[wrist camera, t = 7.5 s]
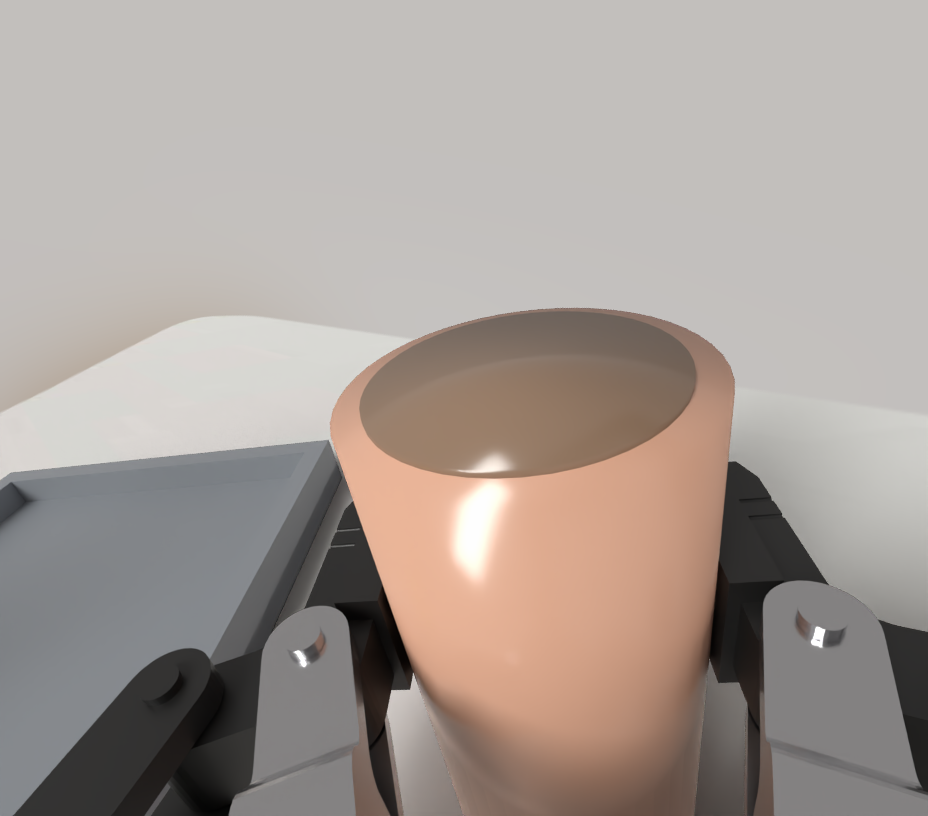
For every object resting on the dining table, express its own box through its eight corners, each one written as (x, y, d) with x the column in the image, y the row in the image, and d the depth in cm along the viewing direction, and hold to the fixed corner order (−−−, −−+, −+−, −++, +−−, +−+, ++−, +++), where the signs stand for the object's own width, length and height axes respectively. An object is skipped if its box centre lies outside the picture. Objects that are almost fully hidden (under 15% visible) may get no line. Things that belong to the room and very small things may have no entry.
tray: (341, 477, 23) (328, 440, 22) (97, 1015, 10) (35, 979, 9) (34, 505, 26) (10, 472, 25) (-510, 965, 12) (-612, 933, 11)
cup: (661, 667, 13) (670, 284, 9) (730, 932, 9) (829, 472, 4) (469, 672, 14) (377, 325, 9) (450, 920, 10) (261, 516, 5)
